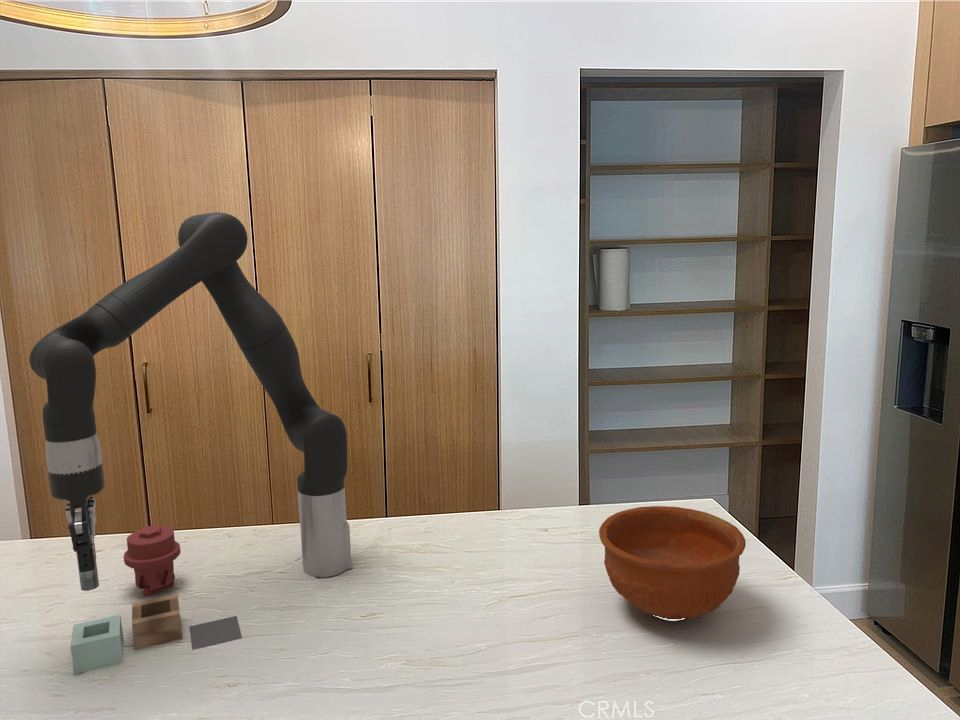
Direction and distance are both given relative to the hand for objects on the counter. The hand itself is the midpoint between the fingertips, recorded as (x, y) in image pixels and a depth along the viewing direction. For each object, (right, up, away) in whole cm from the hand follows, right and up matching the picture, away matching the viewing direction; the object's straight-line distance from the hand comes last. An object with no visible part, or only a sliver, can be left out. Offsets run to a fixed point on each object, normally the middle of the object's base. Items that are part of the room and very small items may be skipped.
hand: (88, 565), depth 119 cm
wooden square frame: (+7, -15, +9) cm, 19 cm away
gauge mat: (+17, -14, +9) cm, 24 cm away
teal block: (0, -16, +3) cm, 16 cm away
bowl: (+97, -12, +14) cm, 99 cm away
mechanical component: (0, -12, +26) cm, 28 cm away
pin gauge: (0, -4, +1) cm, 4 cm away
